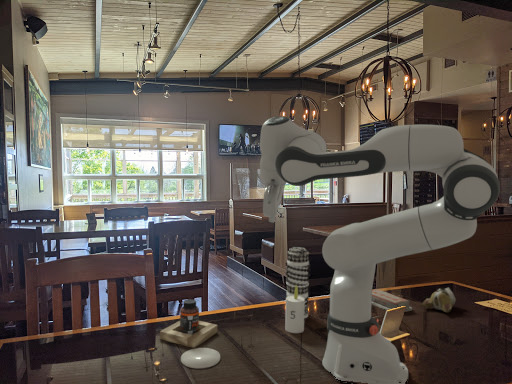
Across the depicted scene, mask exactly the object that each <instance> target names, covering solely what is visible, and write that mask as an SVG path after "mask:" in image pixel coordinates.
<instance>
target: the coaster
mask: <svg viewBox="0 0 512 384" xmlns="http://www.w3.org/2000/svg"><path fill="white" fill-rule="evenodd" d="M220 360H221V354H220V352H219V351H217V350H216V349H213V348H209V347H197V348H196V347H195V348H191V349H189V350H186V351H185V352H184V353H182V355H181V356H180V362H181V363H182V364H183V366H185V367H188V368H191V369H198V370H199V369H208V368H210V367H214V366H216V365H217V364H218V363H219V362H221V361H220Z"/></svg>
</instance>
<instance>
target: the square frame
mask: <svg viewBox="0 0 512 384" xmlns="http://www.w3.org/2000/svg"><path fill="white" fill-rule="evenodd" d="M217 333H218V324H215V323H210V322H207V321H203V320H202V321H201V320H199V331H198V332H197V333H195V334H193V335H190V334H186V333H182V332H180V320H178V321H176V322H175V323H172V324H171V325H169V326H167V327H165V328H164V329H161V330H159V340H161V341H166V342H169V343H172V344H173V343H175V344H178V345H181V346H183V347H184V346H185V347H187V348H188V347H189V348H191V349H195V348H196V347H198V346H199V345H201V344H203V343H204V342H206V341H207V340H209V339H210V338H211V337H212V336H214V335H215V334H217Z"/></svg>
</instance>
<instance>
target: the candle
mask: <svg viewBox="0 0 512 384" xmlns="http://www.w3.org/2000/svg"><path fill="white" fill-rule="evenodd" d="M304 304H305V299H304V298H303V297H300V296H298V288H297V285H296V286H295V292H294V296H288V297H286V296H285V316H284V317H285V322H284V323H285V327H284V329H285V331H286V332H288V333H289V334H290V333H291V334H300V333H303V332H304V330H305V318H304Z"/></svg>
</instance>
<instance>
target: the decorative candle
mask: <svg viewBox="0 0 512 384" xmlns="http://www.w3.org/2000/svg"><path fill="white" fill-rule="evenodd" d="M309 254H310V252H309V251H308V250H307V249H306V248H305V247H301V246H296V247H295V246H293V247H291V248H289V249H288V251H287V258H288V259H287V260H286V261H287V262H284V263H285V266H286V268H285V283H286V285H287V290H286V295H285V298H286V297H288V296H294V292H295V286H296V285H297V288H298V296H300V297H303V298H304V299H305V304H304V319H307V318H308V317H309V305H308V304H309V299H310V298H309V285H310V283H309V281H310V280H311V279H310V278H309V277H310V276H311V274H310V273H309V272H310V271H311V269H310V267H311V264H310V260H309V256H310V255H309Z"/></svg>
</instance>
